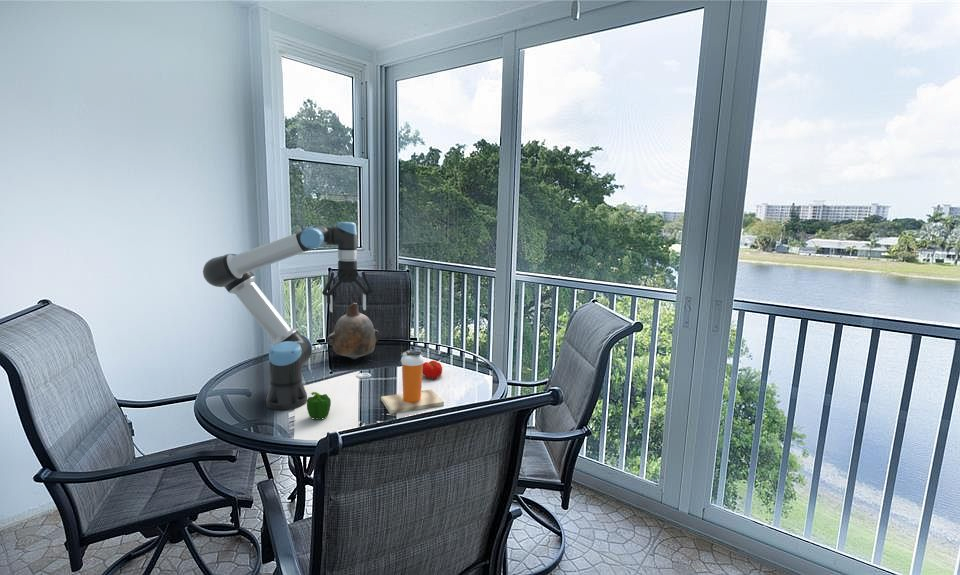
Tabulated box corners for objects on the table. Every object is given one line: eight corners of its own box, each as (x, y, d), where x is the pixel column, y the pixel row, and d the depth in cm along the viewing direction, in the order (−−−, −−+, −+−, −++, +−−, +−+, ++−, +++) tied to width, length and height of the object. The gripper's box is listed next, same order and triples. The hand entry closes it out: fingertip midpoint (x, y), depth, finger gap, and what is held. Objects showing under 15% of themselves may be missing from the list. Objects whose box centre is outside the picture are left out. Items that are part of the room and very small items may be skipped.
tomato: (423, 381, 214) (423, 367, 213) (419, 372, 225) (420, 359, 223) (444, 379, 217) (444, 366, 216) (440, 371, 227) (440, 358, 226)
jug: (359, 349, 257) (358, 295, 252) (386, 357, 244) (386, 301, 239) (321, 360, 237) (319, 302, 232) (348, 369, 225) (347, 308, 220)
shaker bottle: (418, 404, 184) (419, 356, 181) (397, 402, 186) (397, 353, 183) (425, 396, 193) (426, 349, 190) (405, 393, 195) (405, 347, 191)
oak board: (390, 413, 179) (390, 410, 179) (381, 400, 191) (381, 396, 191) (443, 405, 188) (443, 401, 188) (431, 392, 201) (431, 389, 200)
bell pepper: (333, 412, 178) (333, 387, 177) (327, 422, 170) (327, 396, 169) (311, 412, 178) (310, 387, 176) (304, 421, 170) (303, 395, 168)
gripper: (375, 258, 200) (375, 306, 204) (314, 259, 190) (315, 310, 193) (379, 260, 194) (379, 310, 197) (316, 261, 183) (317, 314, 186)
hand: (348, 310), depth 195 cm, fingers open, 13 cm apart
